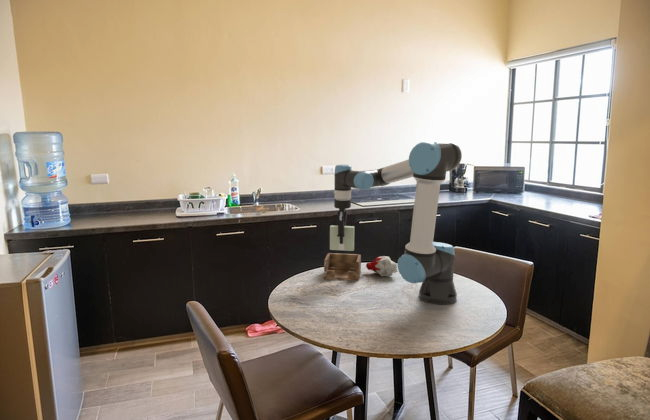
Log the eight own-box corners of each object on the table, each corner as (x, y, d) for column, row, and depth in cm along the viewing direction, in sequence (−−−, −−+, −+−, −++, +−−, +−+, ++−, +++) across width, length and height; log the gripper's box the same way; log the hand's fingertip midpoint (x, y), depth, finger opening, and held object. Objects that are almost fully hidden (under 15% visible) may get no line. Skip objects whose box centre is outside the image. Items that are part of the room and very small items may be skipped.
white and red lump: (397, 277, 207) (365, 279, 209) (398, 270, 218) (367, 271, 220) (396, 259, 205) (363, 261, 208) (396, 252, 216) (365, 254, 219)
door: (329, 249, 206) (329, 226, 203) (330, 248, 208) (330, 225, 206) (353, 250, 204) (353, 227, 202) (354, 249, 206) (354, 226, 204)
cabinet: (360, 272, 216) (360, 254, 214) (358, 281, 203) (358, 262, 202) (328, 270, 218) (328, 252, 217) (323, 279, 206) (323, 261, 204)
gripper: (336, 195, 209) (336, 244, 214) (331, 201, 194) (331, 253, 199) (352, 196, 208) (351, 244, 213) (349, 202, 193) (348, 254, 198)
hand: (341, 249), depth 206 cm, fingers closed on door, 2 cm apart
